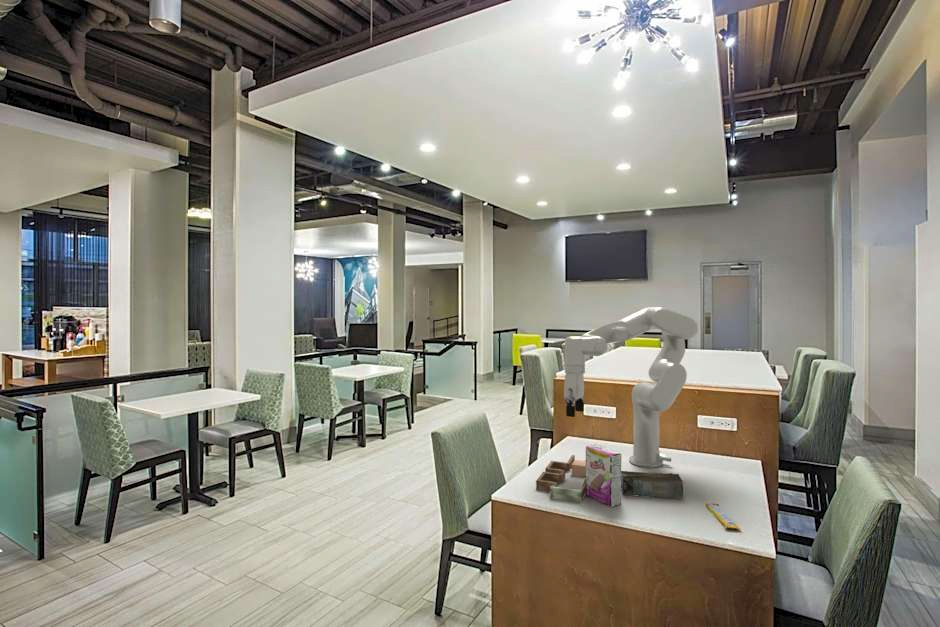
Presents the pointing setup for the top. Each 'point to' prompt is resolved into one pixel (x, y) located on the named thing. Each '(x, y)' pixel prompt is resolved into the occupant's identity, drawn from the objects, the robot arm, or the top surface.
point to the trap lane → (559, 481)
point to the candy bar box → (603, 474)
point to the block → (579, 468)
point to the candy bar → (721, 516)
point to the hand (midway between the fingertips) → (575, 413)
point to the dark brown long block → (652, 484)
